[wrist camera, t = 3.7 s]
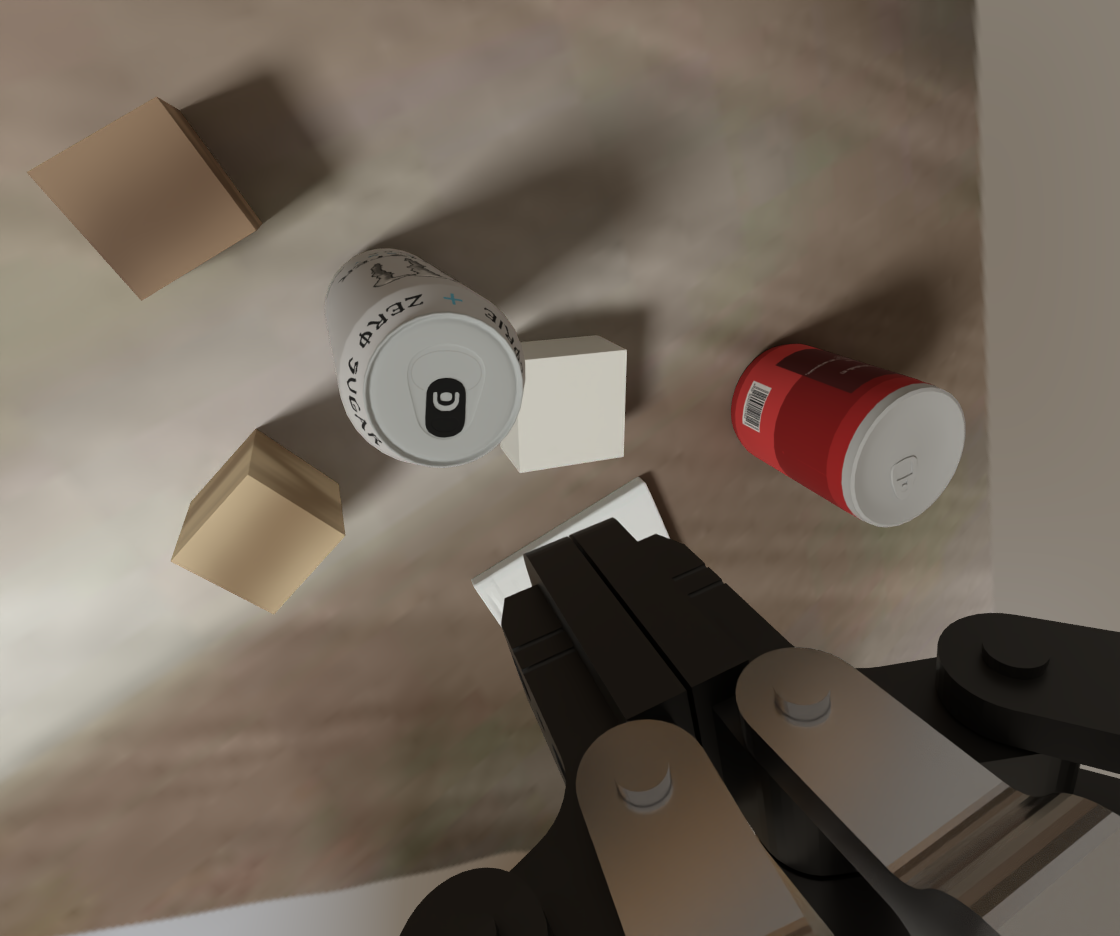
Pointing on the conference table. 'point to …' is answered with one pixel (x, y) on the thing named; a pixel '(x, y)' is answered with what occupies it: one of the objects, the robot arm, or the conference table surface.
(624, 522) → the external hard drive
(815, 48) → the conference table surface
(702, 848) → the robot arm
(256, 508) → the oak block
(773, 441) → the canned food
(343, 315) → the energy drink can
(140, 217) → the walnut block
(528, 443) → the pale grey block
